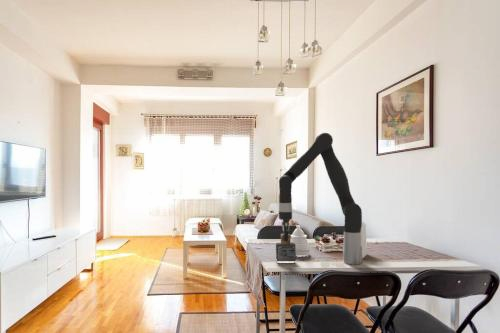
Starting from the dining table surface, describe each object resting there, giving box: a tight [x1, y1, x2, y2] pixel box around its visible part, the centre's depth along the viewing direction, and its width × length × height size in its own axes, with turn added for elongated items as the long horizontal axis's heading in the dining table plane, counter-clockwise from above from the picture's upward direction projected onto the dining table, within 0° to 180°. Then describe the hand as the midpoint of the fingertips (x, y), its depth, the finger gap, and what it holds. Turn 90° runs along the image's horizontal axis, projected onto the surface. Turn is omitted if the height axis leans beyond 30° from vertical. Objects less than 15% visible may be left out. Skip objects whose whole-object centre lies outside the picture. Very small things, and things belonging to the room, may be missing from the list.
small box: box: [275, 242, 297, 262], centre depth 202 cm, size 11×6×10 cm, turn 92°
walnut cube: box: [280, 233, 291, 244], centre depth 202 cm, size 5×5×5 cm
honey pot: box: [290, 225, 310, 255], centre depth 219 cm, size 13×13×18 cm
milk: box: [342, 220, 368, 259], centre depth 217 cm, size 12×12×26 cm
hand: (285, 239), depth 202 cm, fingers open, 8 cm apart
